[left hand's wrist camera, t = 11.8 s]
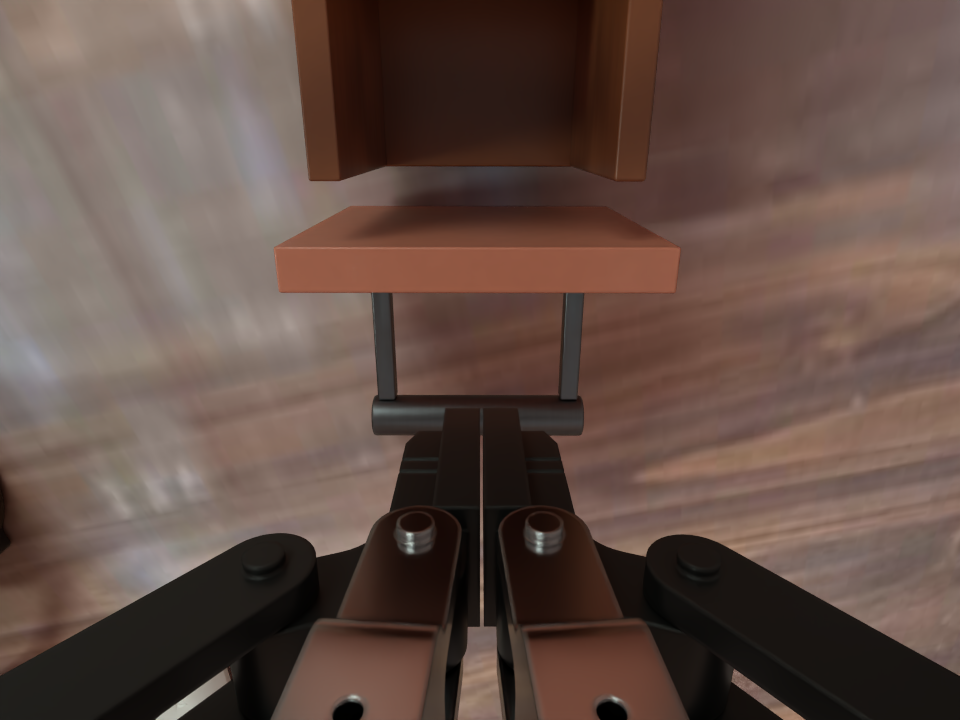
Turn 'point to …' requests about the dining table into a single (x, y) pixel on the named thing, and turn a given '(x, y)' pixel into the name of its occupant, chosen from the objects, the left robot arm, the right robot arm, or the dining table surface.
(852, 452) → the dining table surface
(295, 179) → the dining table surface
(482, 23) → the drawer
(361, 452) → the dining table surface
